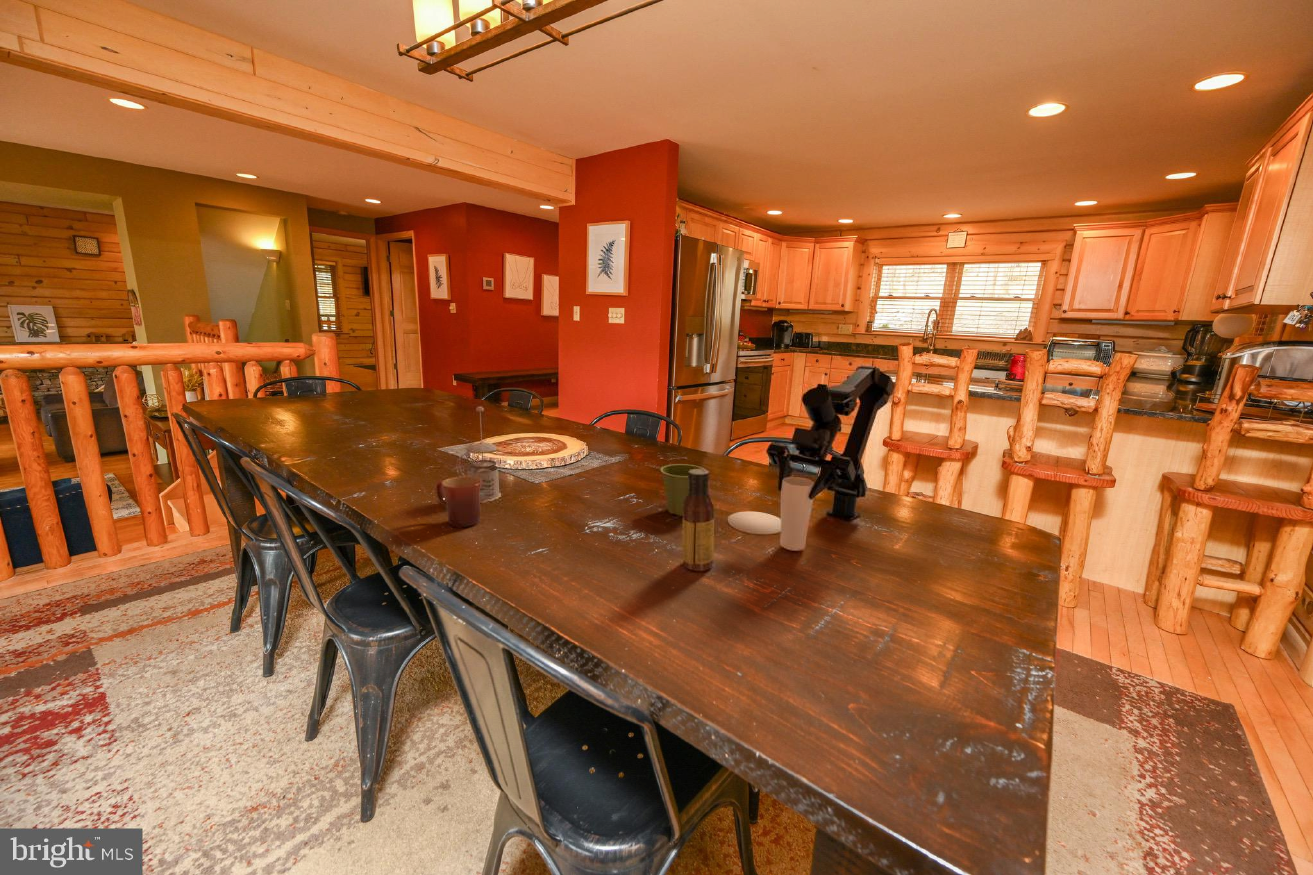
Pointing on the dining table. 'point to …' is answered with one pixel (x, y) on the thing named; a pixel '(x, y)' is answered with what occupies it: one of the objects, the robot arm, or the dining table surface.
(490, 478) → the french press
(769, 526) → the cream flat disc
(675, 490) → the plant pot
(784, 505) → the drinking glass
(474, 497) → the mug
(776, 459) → the robot arm
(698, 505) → the sauce bottle
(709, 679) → the dining table surface
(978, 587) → the dining table surface
